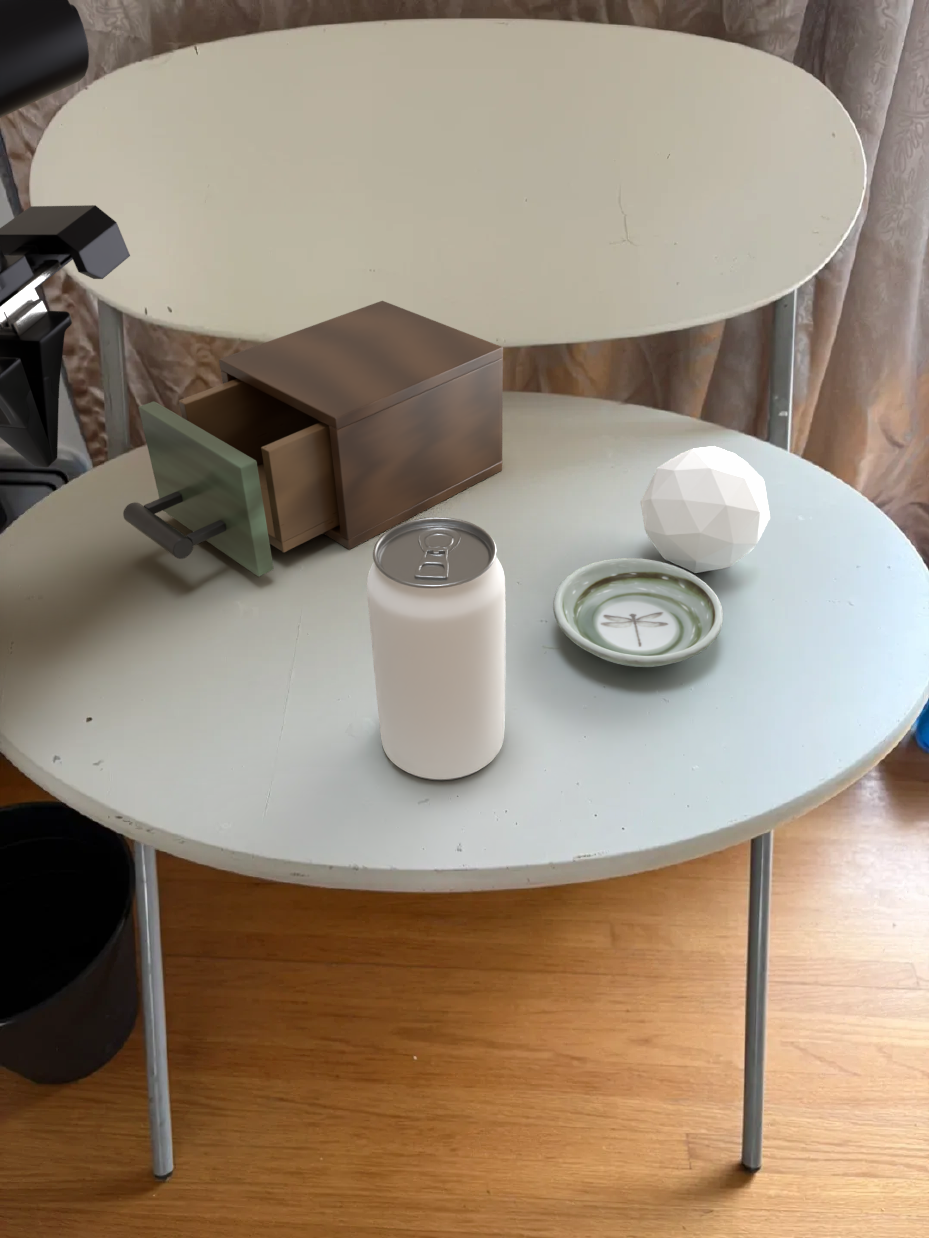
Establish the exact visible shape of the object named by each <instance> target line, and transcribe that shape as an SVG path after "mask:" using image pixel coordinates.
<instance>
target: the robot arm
mask: <svg viewBox="0 0 929 1238" xmlns="http://www.w3.org/2000/svg"><path fill="white" fill-rule="evenodd" d="M79 13H80V12H79V11H78V8H77V7H76V6H75V5H74V4H72V3H70V1H69V0H0V118H3V117H5V116H7V115H9V114H11V113H14V112H16V111H17V110H20V109H23V108H24V107H27V106H29V105H31V104H34V103H36V102H37V101H40V100H42V99H44V98H46V97H48V96H50V95H53V94H54V93H57V92H59V91H61V90H63V89H66V88H68V87H70V86H72V85H75V84H76V83H79V82H81V81H82V79H83V78H84V77H86V75H87V72H88V69H89V64H90V63H89V62H90V50H89V44H88V43H89V42H88V39H87V34H86V30H85V27H84V23H83V21H82V18H81V16H80V14H79ZM130 257H131V254H130V252H129V249H128V247H127V244H126V242H125V240H124V237H123V235H122V232H121V229H120V228H119V225H118V222H117V221H116V220H114V219H113V218H112V217H111V216H110V215H108V214H107V213H106V212H105V211H103V210H102V209H101V208H100V207H98V206H97V205H96V204H95V205H93V204H92V205H89V204H88V205H86V204H85V205H35V206H33V205H32V206H29V207H27V208H26V209H25V210H23V211H21V213H20V214H18V215H16V216H15V217H14V218H12V219H11V220H9V221H8V222H6V223H5V224H4V225H3V226H1V227H0V439H1V440H2V441H4V442H5V443H6V444H7V445H8V446H9V447H11V449H13V450H14V451H16V453H18V454H19V455H20V456H21V457H23V458H24V459H25V460H26V461H27V462H29V463H30V464H31V465H33V466H34V467H39V468H50V466H51V465H53V463H54V462H55V461H56V460H57V459H58V452H59V451H58V448H59V447H58V446H59V445H58V444H59V406H60V404H59V403H60V384H61V372H62V364H63V363H62V362H63V354H64V344H65V335H66V331H67V330H68V328H70V327H71V326H72V324H73V320H72V316H71V314H70V312H68V311H65V310H48V309H47V307H46V305H45V303H44V301H43V299H41V298H40V297H39V295H38V293H37V291H36V289H38V288H39V287H40V286H41V285H42V284H44V283H45V282H46V281H48V280H49V279H50V278H51V277H53V276H54V275H55V274H57V273H58V272H59V271H60V270H61V269H63V268H64V267H65V266H66V265H68V264H69V263H71V262H72V261H73V263H74V265H75V268H76V270H77V272H78V273H80V274H81V275H84V276H87V277H89V278H91V279H93V280H103V279H105V278H106V277H107V276H108V275H109V274H110V273H112V272H113V271H114V270H115V269H117V268H118V267H119V266H120V265H121V264H122V263H124V262H125V261H126V260H127V259H129V258H130Z"/></svg>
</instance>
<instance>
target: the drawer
mask: <svg viewBox="0 0 929 1238" xmlns="http://www.w3.org/2000/svg"><path fill="white" fill-rule="evenodd" d="M178 404H179V405H178V406H179V409H180V414H181V415H179V414H177V413H175V412H173V411H172V410H170V409H169V408H167V407H164V406H163V405H162V404H160V403H158V402H156V401H151V402H148V403H145V404H143V405H139V406H138V411H139V416H140V420H141V425H142V429H143V434H144V438H145V442H146V447H147V451H148V455H149V459H150V464H151V469H152V473H153V477H154V481H155V486H156V490H157V494H158V499H156V500H153V501H150V502H148V503H146V504H143V505H142V504H141V503H139V502H137V501H136V502H135V501H134V502H130V503H128V504H127V505H126V506H125V508H124V509H123V513H122V515H123V516H122V517H123V519H124V520H125V522H126V523H128V524H130V525H131V526H132V527H133V528H135V529H136V530H138V532H141V533H142V534H143V535H145V536H146V537H148V538H149V539H150V540H151V541H153V542H155V544H157V545H158V546H160V547H161V548H162V549H163V550H165V551H166V552H168V553H169V554H171V555H172V556H174V557H175V558H176V559H180V560H183V559H186V558H187V557H189V556H190V555H191V554H192V552H193V550H194V547H195V546H196V545H199V544H200V543H203V542H205V541H206V542H208V543H209V544H210V545H212V546H213V547H215V548H216V549H217V550H219V551H220V552H221V553H224V554H225V556H228V557H229V558H231V559H232V560H233V561H235V562H236V563H238V564H239V565H241V566H242V567H244V568H245V569H247V570H248V571H250V572H251V573H252V574H254V575H255V576H257V577H258V578H259V577H261V576H264V575H265V574H267V573H270V572H272V571H273V570H274V564H273V563H274V562H273V556H272V549H271V545H272V546H273V547H275V549H277V550H279V551H281V552H282V553H286V552H288V551H290V550H292V549H294V548H296V547H298V546H300V545H302V544H304V543H306V542H308V541H310V540H312V539H314V538H316V537H318V536H320V535H323V533H324V532H326V531H328V530H330V529H332V528H334V527H336V526H338V525H340V522H339V513H338V504H337V494H336V485H335V476H334V467H333V457H332V448H331V439H330V430H329V425H327V424H325V423H323V422H321V421H319V420H317V419H315V418H313V417H311V416H309V415H307V414H305V413H304V412H302V411H300V410H298V409H296V408H294V407H292V406H290V405H288V404H286V403H284V402H282V401H280V400H278V399H276V398H274V397H272V396H270V395H269V394H267V393H265V392H263V391H261V390H259V389H257V388H255V387H253V386H251V385H249V384H247V383H245V382H243V381H241V380H239V379H234V380H232V381H229V382H226V383H224V384H223V383H221V384H218V385H215V386H214V387H211V388H208V389H205V390H203V391H200V392H197V393H195V394H192V395H189V396H187V397H184V398H181V399H179V400H178ZM162 511H163V512H164V513H166V514H167V515H168V516H170V517H172V519H174V520H176V521H177V522H179V523H180V524H181V525H183V526H184V527H186V528H187V529H188V530H190V531H192V532H189V533H188V534H186V535H185V534H183V533H182V532H181V531H179V530H178V529H177V528H176V527H173V525H171V524H170V523H168V522H167V521H165V520H164V519H162V518H161V517H160V516H158V515H157V514H158V513H161V512H162Z"/></svg>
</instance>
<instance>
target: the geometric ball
mask: <svg viewBox="0 0 929 1238" xmlns="http://www.w3.org/2000/svg"><path fill="white" fill-rule="evenodd" d="M640 508H641V513H642V521H643V527H644V531H645V534H646V535H647V538H648V540H649V541H650V542H651V543H652V545H653V546H654V547H655V549H656V550H657V552H658V553H659V554H660V556H661V557H662V558H663V559H664V560H666V561H668V562H670V563H673V564H674V565H676V566H678V567H680V568H682V569H684V570H686V571H688V572H691V573H694V574H697V573H703V572H704V573H705V572H709V571H716V570H721V569H728V568H730V567H732V566H733V565H735V564H737V562H739V561H740V560H742V559H743V558H745V557H746V556H747V555H748V554H750V553H752V552H753V550H754V549H755V548H756V546H757V545H758V543H759V541H760V540H761V537H762V536H763V534H764V531H765V529H766V528H767V525H768V523H769V522H770V520H771V513H770V512H771V511H770V507H769V501H768V496H767V490H766V484H765V479H764V478H763V477H762V476H761V475H760V474H759V473H758V472H757V471H756V470H755V469H754V468H753V467H752V466H751V465H750V464H749V463H748V462H747V461H746V460H745V459H743V458H742V457H740V456H739V455H737V454H736V453H735V452H732V451H729V450H727V449H723V448H721V447H718V446H715V445H712V446H704V447H703V446H702V447H695V448H690V449H689V450H686V451H683V452H681V453H679V454H678V455H676V456H674V457H672V458H671V459H669V460H667V461H665V462H664V463H663V464H661V465H659V466H658V467H657V466H656V469H655V471H654V472H653V475H652V477H651V479H650V481H649V483H648V485H647V486H646V489H645V491H644V493H643V495H642V498H641V499H640Z"/></svg>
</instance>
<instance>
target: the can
mask: <svg viewBox="0 0 929 1238" xmlns="http://www.w3.org/2000/svg"><path fill="white" fill-rule="evenodd" d="M372 550H373V551H372V559H373V562H372V563H371V565H370V568H369V571H368V574H367V578H366V594H367V595H366V597H367V607H368V619H369V630H370V640H371V651H372V661H373V673H374V682H375V692H376V693H375V695H376V700H377V701H376V703H377V713H378V721H379V723H378V724H379V731H380V733H379V734H380V739H381V745H382V748H383V751H384V753H385V755H386V756H387V758H388V759H389V760H390V761H391V762H392V763H393V764H394V765H395V766H397V768H399V769H401V770H403V771H404V772H406V773H408V774H410V775H412V776H414V777H417V778H419V779H424V780H430V781H452V780H458V779H462V778H465V777H468V776H471V775H473V774H475V773H476V772H479V771H480V770H482V769H483V768H485V767H486V766H487V765H489V764H490V763H491V762H492V761H493V760H494V759H495V758H496V757H497V756H498V754H499V753H500V751H501V749H502V747H503V744H504V740H505V731H506V730H505V726H506V725H505V724H506V616H507V615H506V612H507V611H506V576H505V571H504V568H503V566H502V563H501V561H500V560H499V559H498V556H497V545H496V543H495V540H494V538H493V537H492V536H491V534H490V533H489V532H487V531H486V530H485V529H483V528H482V527H480V526H479V525H477V524H474V523H472V522H470V521H467V520H463V519H460V518H452V517H445V516H443V517H442V516H434V517H433V516H431V517H423V518H422V517H421V518H416V519H412V520H408V521H404V522H401V523H399V524H397V525H396V526H394V527H392V528H390V529H388V530H386V531H385V532H383V534H382V535H381V536H379V538H378V540H377V541H376V542H375V543H374V547H373V549H372Z"/></svg>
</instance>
